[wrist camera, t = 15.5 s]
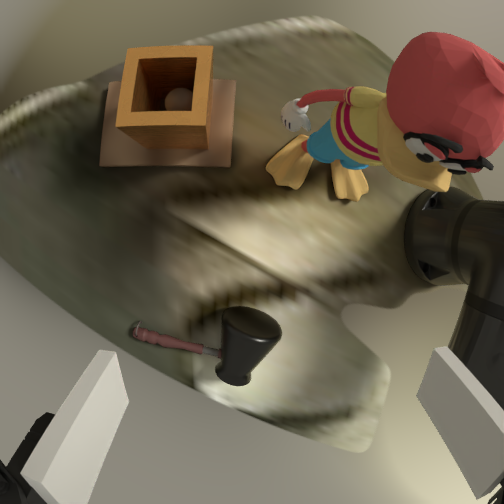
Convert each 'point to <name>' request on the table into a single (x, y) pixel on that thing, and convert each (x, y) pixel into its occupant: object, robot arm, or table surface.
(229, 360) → the pink handled mallet
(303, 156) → the toy
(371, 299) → the table surface
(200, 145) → the frame
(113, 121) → the post
